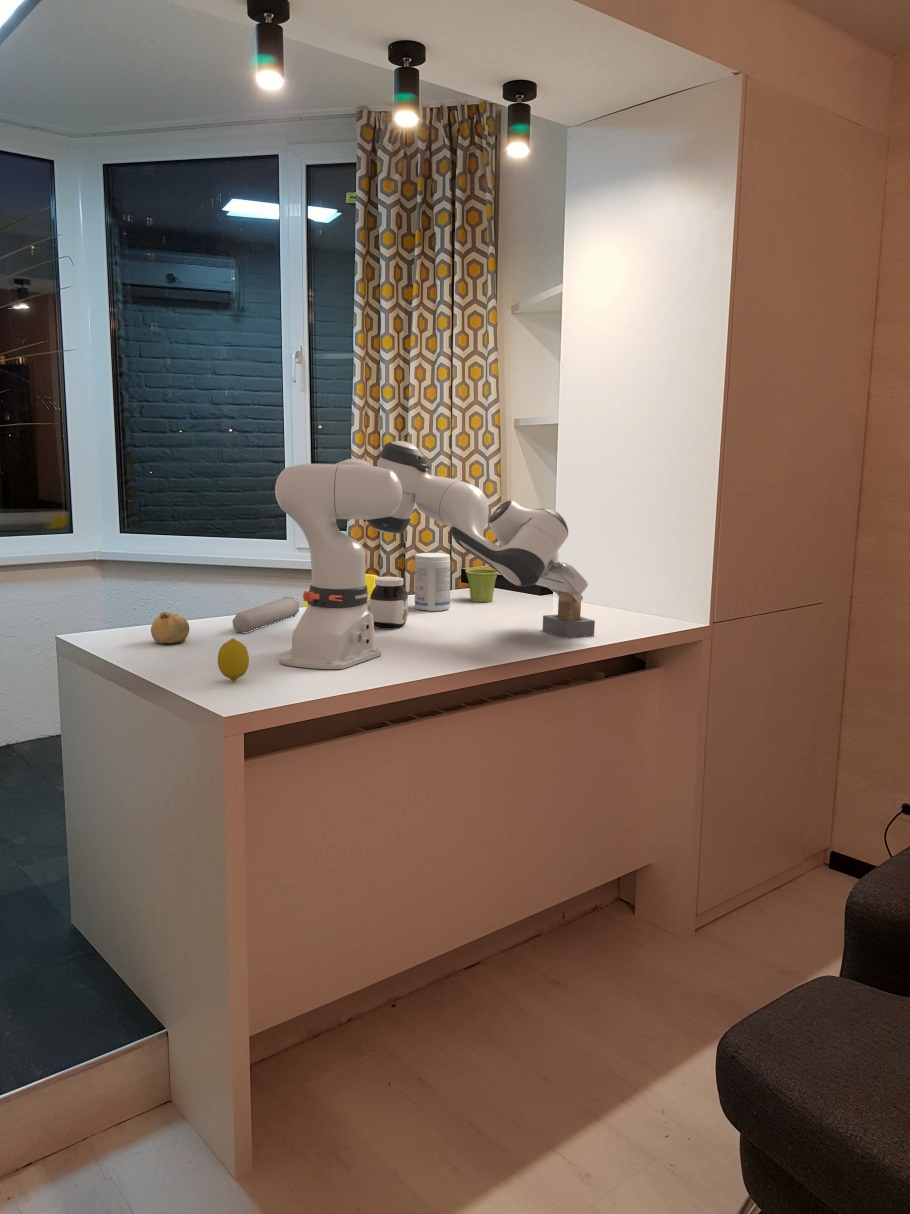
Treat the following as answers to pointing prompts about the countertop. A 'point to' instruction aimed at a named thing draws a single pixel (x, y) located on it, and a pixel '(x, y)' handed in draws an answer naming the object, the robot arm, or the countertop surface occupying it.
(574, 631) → the grey socket block
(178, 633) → the onion
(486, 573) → the plant pot
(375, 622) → the spread jar
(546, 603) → the countertop surface
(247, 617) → the tube
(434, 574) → the supplement tub
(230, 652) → the lemon
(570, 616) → the wooden block
